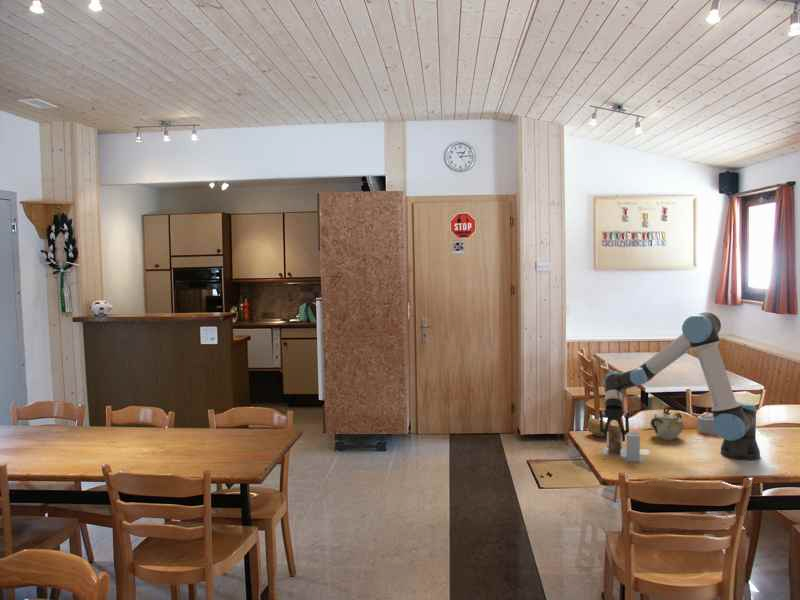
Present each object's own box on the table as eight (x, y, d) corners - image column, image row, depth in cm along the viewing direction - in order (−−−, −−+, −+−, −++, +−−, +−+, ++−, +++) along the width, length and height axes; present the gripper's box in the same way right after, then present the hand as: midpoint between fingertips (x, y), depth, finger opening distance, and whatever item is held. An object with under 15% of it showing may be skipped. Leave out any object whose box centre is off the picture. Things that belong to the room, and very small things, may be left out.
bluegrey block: (638, 458, 268) (638, 433, 268) (639, 461, 264) (639, 436, 263) (626, 457, 270) (626, 432, 269) (627, 460, 265) (627, 435, 264)
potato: (601, 441, 294) (601, 425, 294) (582, 433, 307) (582, 418, 307) (617, 438, 298) (618, 422, 298) (598, 431, 311) (598, 415, 311)
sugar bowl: (664, 444, 288) (665, 412, 287) (639, 436, 302) (639, 406, 300) (694, 438, 297) (694, 407, 296) (668, 430, 310) (668, 401, 309)
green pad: (648, 450, 280) (648, 449, 280) (649, 455, 272) (649, 455, 272) (629, 448, 282) (629, 448, 282) (630, 454, 275) (630, 453, 275)
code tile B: (642, 458, 269) (642, 457, 269) (643, 463, 262) (643, 463, 262) (622, 456, 272) (622, 455, 272) (623, 462, 264) (623, 461, 264)
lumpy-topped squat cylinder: (729, 433, 304) (729, 415, 303) (706, 435, 301) (706, 417, 301) (714, 427, 314) (714, 410, 314) (692, 429, 311) (692, 412, 311)
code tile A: (625, 449, 281) (625, 449, 281) (626, 456, 271) (626, 456, 271) (602, 448, 284) (602, 447, 284) (602, 455, 274) (602, 454, 274)
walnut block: (620, 450, 279) (620, 426, 279) (620, 453, 275) (620, 429, 274) (608, 449, 281) (608, 425, 280) (608, 453, 276) (608, 428, 275)
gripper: (633, 407, 288) (636, 452, 274) (593, 405, 294) (593, 449, 279) (634, 398, 283) (636, 444, 268) (593, 396, 288) (593, 441, 274)
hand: (614, 446), depth 274 cm, fingers closed on walnut block, 5 cm apart
